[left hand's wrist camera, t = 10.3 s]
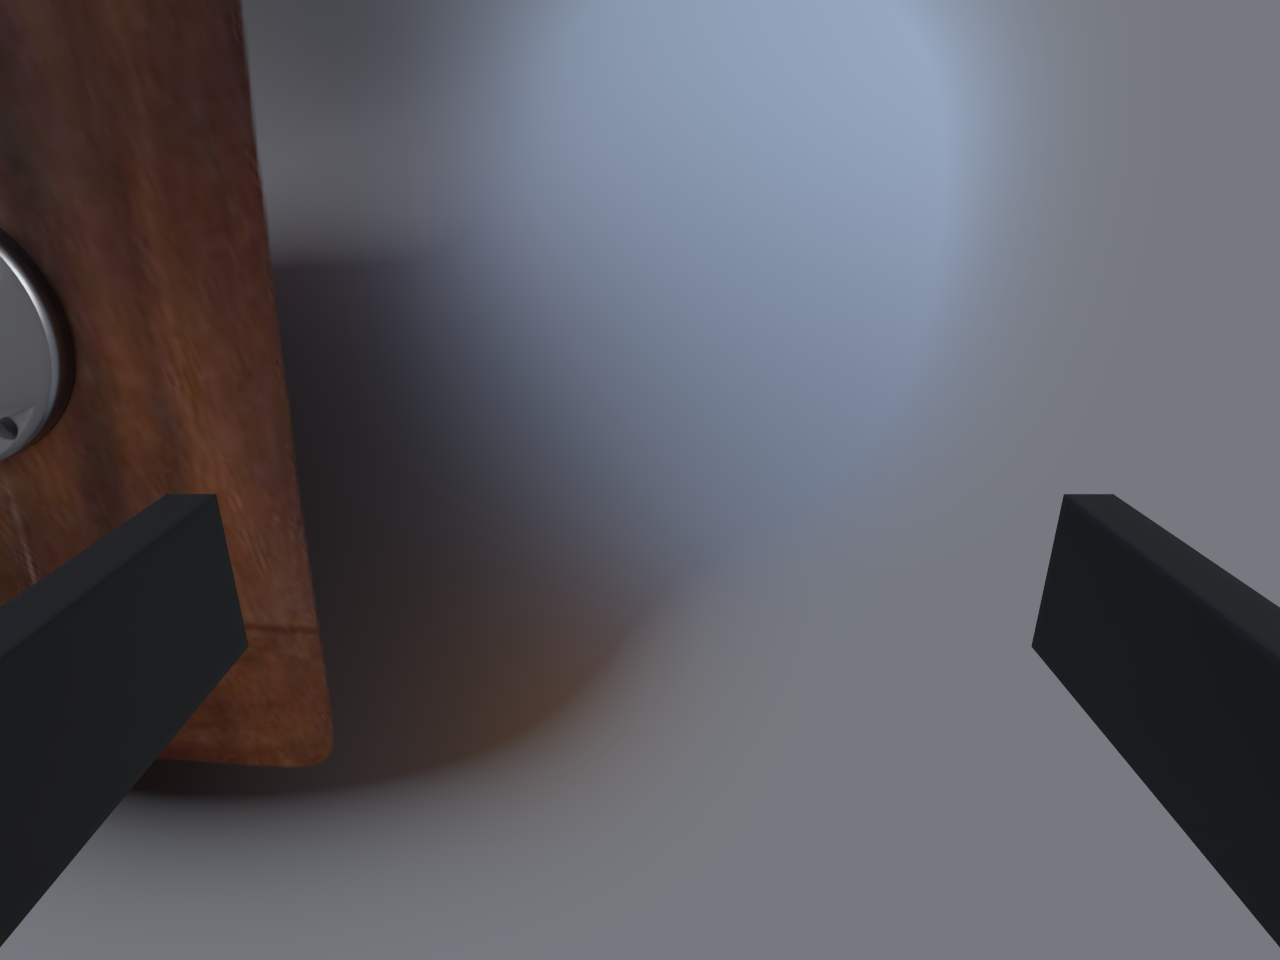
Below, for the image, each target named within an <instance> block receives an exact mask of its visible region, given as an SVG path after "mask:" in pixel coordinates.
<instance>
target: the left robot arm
mask: <svg viewBox="0 0 1280 960" xmlns="http://www.w3.org/2000/svg"><path fill="white" fill-rule="evenodd" d="M73 379H74V350H73V344H72V338H71V333H70V330H69V326H68V323H67V320H66V317H65V315H64V312H63V309H62V307H61V305H60V303H59V301H58V298H57V296H56V294H55V292H54V291H53V289H52V287H51V286H50V284H49V282H48V280H47V279H46V278H45V276H44V275H43V273H42V272H41V270H40V269H39V267H38V266H37V265H36V264H35V262H34V261H33V260H32V259H31V258H30V256H29V255H28V254H27V253H26V252H25V251H24V250H23V249H22V248H21V246H20V245H19V244H18V243H17V242H16V241H15V240H14V239H12V238H11V237H10V236H9V235H8V234H7V233H6V232H5V231H4V230H2V229H1V228H0V461H1V460H3V459H6V458H8V457H10V456H12V455H14V454H17V453H19V452H21V451H23V450H25V449H27V448H29V447H31V446H32V445H34V444H35V443H37V442H38V441H40V440H41V439H42V438H43V437H44V436H46V435H47V434H48V433H49V431H50V430H51V429H52V428H53V427H54V426H55V424H56V423H57V422H58V420H59V419H60V417H61V416H62V414H63V412H64V410H65V408H66V406H67V403H68V400H69V398H70V394H71V390H72V386H73ZM247 648H248V642H247V637H246V633H245V628H244V623H243V619H242V614H241V609H240V605H239V600H238V595H237V590H236V586H235V581H234V576H233V572H232V567H231V562H230V558H229V553H228V548H227V543H226V539H225V534H224V529H223V525H222V520H221V515H220V511H219V506H218V501H217V496H216V494H166V495H165V496H163V497H162V498H161V499H159V500H158V501H156V502H155V503H153V504H152V505H150V506H149V507H147V508H146V509H144V510H143V511H141V512H140V513H139V514H137V515H136V516H134V517H133V518H131V519H130V520H128V521H127V522H125V523H124V524H122V525H121V526H119V527H118V528H116V529H115V530H114V531H112V532H111V533H109V534H108V535H106V536H105V537H103V538H102V539H100V540H99V541H97V542H96V543H94V544H93V545H92V546H90V547H89V548H87V549H86V550H84V551H83V552H81V553H80V554H78V555H77V556H75V557H74V558H72V559H71V560H69V561H68V562H67V563H65V564H64V565H62V566H61V567H59V568H58V569H56V570H55V571H53V572H52V573H50V574H49V575H47V576H46V577H45V578H43V579H42V580H40V581H39V582H37V583H36V584H34V585H33V586H31V587H30V588H28V589H27V590H25V591H24V592H22V593H21V594H20V595H18V596H17V597H15V598H14V599H12V600H11V601H9V602H8V603H6V604H5V605H3V606H2V607H0V947H1V946H2V944H3V943H4V942H5V941H6V940H7V938H8V937H9V936H10V935H11V934H12V932H13V931H14V930H15V929H16V927H17V926H18V925H19V924H20V923H21V921H22V920H23V919H24V918H25V916H26V915H27V914H28V913H29V912H30V910H31V909H32V908H33V907H34V906H35V904H36V903H37V902H38V901H39V900H40V898H41V897H42V896H43V895H44V893H45V892H46V891H47V890H48V889H49V887H50V886H51V885H52V884H53V883H54V881H55V880H56V879H57V878H58V877H59V875H60V874H61V873H62V872H63V870H64V869H65V868H66V867H67V866H68V864H69V863H70V862H71V861H72V860H73V858H74V857H75V856H76V855H77V854H78V852H79V851H80V850H81V849H82V847H83V846H84V845H85V844H86V843H87V841H88V840H89V839H90V838H91V837H92V835H93V834H94V833H95V832H96V831H97V829H98V828H99V827H100V826H101V824H102V823H103V822H104V821H105V820H106V818H107V817H108V816H109V815H110V814H111V812H112V811H113V810H114V809H115V808H116V806H117V805H118V804H119V803H120V801H121V800H122V799H123V798H124V797H125V795H126V794H127V793H128V792H129V791H130V789H131V788H132V787H133V786H134V784H135V783H136V782H137V781H138V780H139V778H140V777H141V776H142V775H143V774H144V772H145V771H146V770H147V769H148V768H149V766H150V765H151V764H152V763H153V761H154V760H155V759H156V758H157V757H158V755H159V754H160V753H161V752H162V751H163V749H164V748H165V747H166V746H167V744H168V743H169V742H170V741H171V740H172V738H173V737H174V736H175V735H176V734H177V732H178V731H179V730H180V729H181V728H182V726H183V725H184V724H185V723H186V721H187V720H188V719H189V718H190V717H191V715H192V714H193V713H194V712H195V711H196V709H197V708H198V707H199V706H200V705H201V703H202V702H203V701H204V700H205V698H206V697H207V696H208V695H209V694H210V692H211V691H212V690H213V689H214V688H215V686H216V685H217V684H218V683H219V681H220V680H221V679H222V678H223V677H224V675H225V674H226V673H227V672H228V671H229V669H230V668H231V667H232V666H233V665H234V663H235V662H236V661H237V660H238V658H239V657H240V656H241V655H242V654H243V652H244V651H245V650H246V649H247ZM1032 648H1033V649H1034V650H1035V651H1036V652H1037V654H1038V655H1039V656H1040V657H1041V658H1042V660H1043V661H1044V662H1045V663H1046V664H1047V666H1048V667H1049V668H1050V669H1051V671H1052V672H1053V673H1054V674H1055V675H1056V677H1057V678H1058V679H1059V680H1060V681H1061V683H1062V684H1063V685H1064V686H1065V688H1066V689H1067V690H1068V691H1069V692H1070V694H1071V695H1072V696H1073V697H1074V698H1075V700H1076V701H1077V702H1078V703H1079V704H1080V706H1081V707H1082V708H1083V709H1084V711H1085V712H1086V713H1087V714H1088V715H1089V717H1090V718H1091V719H1092V720H1093V721H1094V723H1095V724H1096V725H1097V726H1098V728H1099V729H1100V730H1101V731H1102V732H1103V734H1104V735H1105V736H1106V737H1107V738H1108V740H1109V741H1110V742H1111V743H1112V744H1113V746H1114V747H1115V748H1116V749H1117V751H1118V752H1119V753H1120V754H1121V755H1122V757H1123V758H1124V759H1125V760H1126V761H1127V763H1128V764H1129V765H1130V766H1131V767H1132V769H1133V770H1134V771H1135V772H1136V774H1137V775H1138V776H1139V777H1140V778H1141V780H1142V781H1143V782H1144V783H1145V784H1146V786H1147V787H1148V788H1149V789H1150V791H1151V792H1152V793H1153V794H1154V795H1155V797H1156V798H1157V799H1158V800H1159V801H1160V803H1161V804H1162V805H1163V806H1164V808H1165V809H1166V810H1167V811H1168V812H1169V814H1170V815H1171V816H1172V817H1173V818H1174V820H1175V821H1176V822H1177V823H1178V824H1179V826H1180V827H1181V828H1182V829H1183V831H1184V832H1185V833H1186V834H1187V835H1188V837H1189V838H1190V839H1191V840H1192V841H1193V843H1194V844H1195V845H1196V846H1197V847H1198V849H1199V850H1200V851H1201V852H1202V854H1203V855H1204V856H1205V857H1206V858H1207V860H1208V861H1209V862H1210V863H1211V864H1212V866H1213V867H1214V868H1215V869H1216V871H1217V872H1218V873H1219V874H1220V875H1221V877H1222V878H1223V879H1224V880H1225V881H1226V883H1227V884H1228V885H1229V886H1230V887H1231V889H1232V890H1233V891H1234V892H1235V894H1236V895H1237V896H1238V897H1239V898H1240V900H1241V901H1242V902H1243V903H1244V904H1245V906H1246V907H1247V908H1248V909H1249V910H1250V912H1251V913H1252V914H1253V915H1254V916H1255V918H1256V919H1257V920H1258V921H1259V923H1260V924H1261V925H1262V926H1263V927H1264V929H1265V930H1266V931H1267V932H1268V933H1269V935H1270V936H1271V937H1272V938H1273V940H1274V941H1275V942H1276V943H1277V944H1278V946H1279V947H1280V607H1278V606H1277V605H1275V604H1274V603H1272V602H1271V601H1269V600H1268V599H1266V598H1265V597H1263V596H1262V595H1260V594H1259V593H1257V592H1256V591H1255V590H1253V589H1252V588H1250V587H1249V586H1247V585H1246V584H1244V583H1243V582H1241V581H1240V580H1238V579H1237V578H1235V577H1234V576H1233V575H1231V574H1230V573H1228V572H1227V571H1225V570H1224V569H1222V568H1221V567H1219V566H1218V565H1216V564H1215V563H1213V562H1212V561H1210V560H1209V559H1208V558H1206V557H1205V556H1203V555H1202V554H1200V553H1199V552H1197V551H1196V550H1194V549H1193V548H1191V547H1190V546H1188V545H1187V544H1185V543H1184V542H1183V541H1181V540H1180V539H1178V538H1177V537H1175V536H1174V535H1172V534H1171V533H1169V532H1168V531H1166V530H1165V529H1163V528H1162V527H1161V526H1159V525H1158V524H1156V523H1155V522H1153V521H1152V520H1150V519H1149V518H1147V517H1146V516H1144V515H1143V514H1141V513H1140V512H1139V511H1137V510H1136V509H1134V508H1133V507H1131V506H1130V505H1128V504H1127V503H1125V502H1124V501H1122V500H1121V499H1119V498H1118V497H1116V496H1115V495H1114V494H1064V496H1063V501H1062V506H1061V511H1060V516H1059V520H1058V525H1057V529H1056V534H1055V539H1054V543H1053V548H1052V553H1051V558H1050V562H1049V567H1048V572H1047V576H1046V581H1045V586H1044V590H1043V595H1042V600H1041V605H1040V609H1039V614H1038V619H1037V624H1036V628H1035V633H1034V638H1033V642H1032Z"/></svg>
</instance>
